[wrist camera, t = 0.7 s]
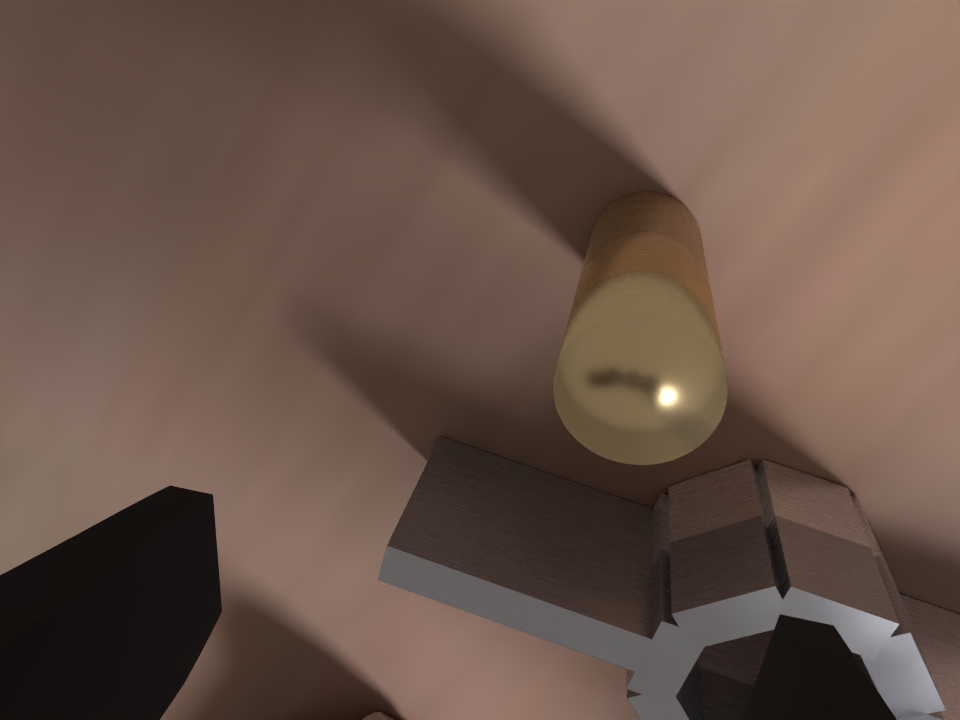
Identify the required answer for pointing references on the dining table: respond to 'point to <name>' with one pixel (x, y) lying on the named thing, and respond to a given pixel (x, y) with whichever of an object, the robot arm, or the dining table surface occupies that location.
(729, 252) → the dining table surface
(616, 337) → the hinge pin
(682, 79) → the dining table surface
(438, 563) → the hinge
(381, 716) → the mineral specimen
